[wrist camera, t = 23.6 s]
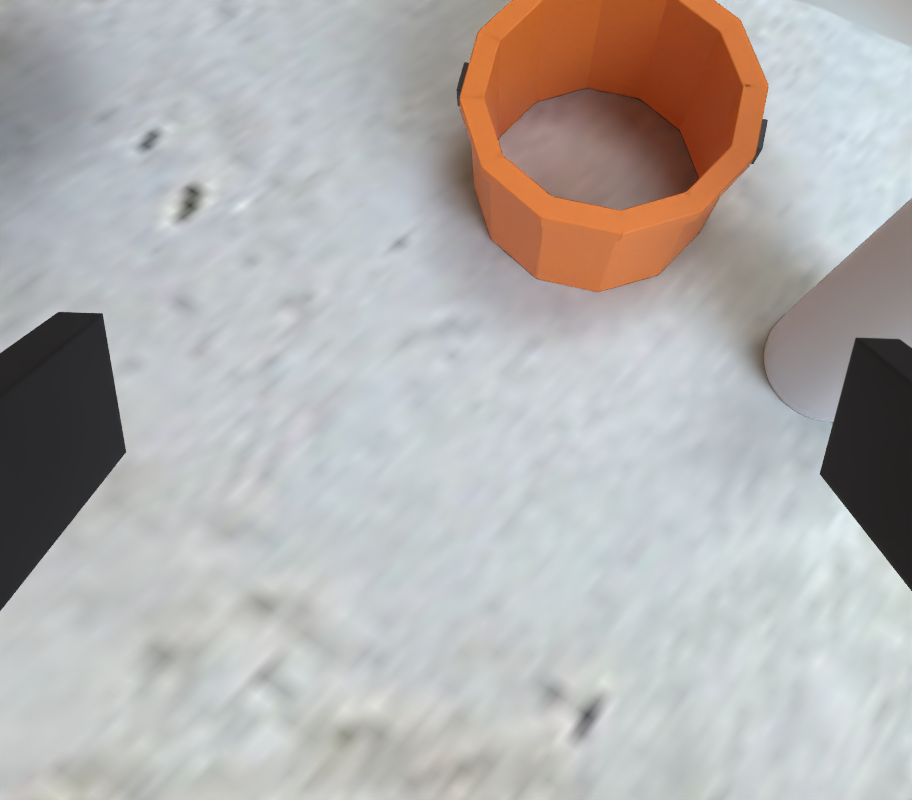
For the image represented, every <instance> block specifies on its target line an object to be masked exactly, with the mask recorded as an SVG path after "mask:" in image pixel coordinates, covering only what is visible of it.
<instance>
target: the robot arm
mask: <svg viewBox="0 0 912 800" xmlns="http://www.w3.org/2000/svg"><path fill="white" fill-rule="evenodd" d="M125 453H126V449H125V443H124V437H123V431H122V425H121V420H120V414H119V408H118V402H117V396H116V390H115V384H114V378H113V372H112V367H111V361H110V355H109V349H108V343H107V337H106V331H105V325H104V319H103V313H71V312H58V313H56V314H55V315H54V316H52V317H51V318H49V319H48V320H47V321H45V322H44V323H42V324H41V325H40V326H38V327H37V328H35V329H34V330H32V331H31V332H30V333H28V334H27V335H25V336H24V337H23V338H21V339H20V340H18V341H17V342H16V343H14V344H13V345H11V346H10V347H9V348H7V349H6V350H4V351H3V352H1V353H0V611H1V609H2V608H3V607H4V606H5V604H6V603H7V602H8V601H9V599H10V598H11V597H12V596H13V594H14V593H15V592H16V590H17V589H18V588H19V587H20V585H21V584H22V583H23V582H24V580H25V579H26V578H27V577H28V575H29V574H30V573H31V572H32V570H33V569H34V568H35V566H36V565H37V564H38V563H39V561H40V560H41V559H42V558H43V556H44V555H45V554H46V553H47V551H48V550H49V549H50V548H51V546H52V545H53V544H54V542H55V541H56V540H57V539H58V537H59V536H60V535H61V534H62V532H63V531H64V530H65V529H66V527H67V526H68V525H69V524H70V522H71V521H72V520H73V518H74V517H75V516H76V515H77V513H78V512H79V511H80V510H81V508H82V507H83V506H84V505H85V503H86V502H87V501H88V500H89V498H90V497H91V496H92V494H93V493H94V492H95V491H96V489H97V488H98V487H99V486H100V484H101V483H102V482H103V481H104V479H105V478H106V477H107V476H108V474H109V473H110V472H111V470H112V469H113V468H114V467H115V465H116V464H117V463H118V462H119V460H120V459H121V458H122V457H123V455H124V454H125ZM820 475H821V476H822V477H823V479H824V480H825V481H826V482H827V484H828V485H829V486H830V488H831V489H832V490H833V491H834V493H835V494H836V495H837V496H838V498H839V499H840V500H841V502H842V503H843V504H844V505H845V507H846V508H847V509H848V510H849V512H850V513H851V514H852V516H853V517H854V518H855V519H856V521H857V522H858V523H859V524H860V526H861V527H862V528H863V530H864V531H865V532H866V533H867V535H868V536H869V537H870V538H871V540H872V541H873V542H874V544H875V545H876V546H877V547H878V549H879V550H880V551H881V552H882V554H883V555H884V556H885V558H886V559H887V560H888V561H889V563H890V564H891V565H892V566H893V568H894V569H895V570H896V572H897V573H898V574H899V575H900V577H901V578H902V579H903V580H904V582H905V583H906V584H907V586H908V587H909V588H910V589H911V591H912V348H911V347H910V346H908V345H907V344H906V343H904V342H903V341H902V340H900V339H886V338H855V342H854V345H853V349H852V353H851V357H850V361H849V364H848V368H847V372H846V376H845V380H844V384H843V387H842V391H841V395H840V399H839V403H838V406H837V410H836V414H835V418H834V422H833V426H832V429H831V433H830V437H829V441H828V445H827V448H826V452H825V456H824V460H823V464H822V467H821V471H820Z"/></svg>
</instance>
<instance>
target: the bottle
mask: <svg viewBox="0 0 912 800" xmlns="http://www.w3.org/2000/svg"><path fill="white" fill-rule="evenodd" d="M855 338H886V339H900V340H902V341H903V342H904V343H906V344H907V345H908V346H910V347H911V348H912V198H911V199H910V200H909V201H908V202H907V203H906V204H905V205H904V206H903V207H902V208H900V209H899V210H898V211H897V212H896V213H895V214H894V215H893V216H892V217H891V218H889V219H888V220H887V221H886V222H885V223H884V224H883V225H882V226H881V227H880V228H878V229H877V230H876V231H875V232H874V233H873V234H872V235H871V236H870V237H869V238H867V239H866V240H865V241H864V242H863V243H862V244H861V245H860V246H859V247H858V248H856V249H855V250H854V251H853V252H852V253H851V254H850V255H849V256H848V257H847V258H845V259H844V260H843V261H842V262H841V263H840V264H839V265H838V266H837V267H836V268H834V269H833V270H832V271H831V272H830V273H829V274H828V275H827V276H826V277H825V278H823V279H822V280H821V281H820V282H819V283H818V284H817V285H816V286H815V287H814V288H812V289H811V290H810V291H809V292H808V293H807V294H806V295H805V296H804V297H803V298H802V299H801V300H800V301H799V302H798V303H797V304H796V305H794V306H793V307H792V308H791V309H790V310H789V311H788V312H787V313H786V314H785V315H784V316H783V317H782V318H781V319H780V320H779V321H778V322H777V323H776V325H775V326H774V327H773V328H772V329H771V331H770V334H769V336H768V339H767V341H766V344H765V349H764V366H765V371H766V374H767V377H768V380H769V382H770V384H771V386H772V388H773V390H774V391H775V392H776V394H777V395H778V397H779V398H780V399H781V400H782V401H783V402H784V403H785V404H786V405H788V406H789V407H790V408H791V409H793V410H794V411H796V412H798V413H799V414H801V415H804V416H806V417H809V418H811V419H814V420H818V421H827V422H834V418H835V414H836V410H837V406H838V403H839V399H840V395H841V391H842V387H843V384H844V380H845V376H846V372H847V368H848V364H849V361H850V357H851V353H852V349H853V345H854V342H855Z"/></svg>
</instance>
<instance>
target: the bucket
mask: <svg viewBox="0 0 912 800" xmlns="http://www.w3.org/2000/svg"><path fill="white" fill-rule="evenodd" d="M585 88H588V89H593V90H599V91H604V92H609V93H614V94H620V95H625V96H630V97H635V98H640V99H641V100H642V101H644V102H645V103H646V104H647V105H649V106H650V107H651V108H652V109H654V110H655V111H656V112H658V113H659V114H660V115H661V116H663V117H664V118H665V119H666V120H668V121H669V122H670V123H671V124H673V125H674V126H675V127H677V128H678V129H679V130H680V131H681V134H682V136H683V139H684V141H685V144H686V146H687V149H688V151H689V154H690V157H691V159H692V162H693V164H694V167H695V169H696V172H697V174H698V180H697V181H696V182H695V183H694V184H693V185H692V186H691V187H690V188H689V190H688V191H687V192H684V193H680V194H677V195H673V196H670V197H666V198H663V199H659V200H656V201H652V202H649V203H645V204H642V205H638V206H635V207H631V208H628V209H624V210H616V209H611V208H606V207H601V206H596V205H591V204H586V203H582V202H577V201H572V200H567V199H562V198H557V197H552V196H551V195H550V194H548V193H547V192H546V191H545V190H544V189H543V188H541V187H540V186H539V185H538V184H537V183H535V182H534V181H533V180H532V179H531V178H529V177H528V176H527V175H526V174H525V173H524V172H522V171H521V170H520V169H519V168H518V167H516V166H515V165H514V164H513V163H512V162H510V161H509V160H508V159H507V158H506V157H505V156H503V154H502V151H501V148H500V145H499V142H498V140H499V137H500V136H501V135H502V134H503V133H504V132H505V131H506V130H507V129H508V128H509V127H510V126H512V125H513V124H514V123H515V122H516V121H517V120H518V119H519V118H520V117H521V116H522V115H523V114H524V113H525V112H526V111H527V110H528V109H529V108H530V107H531V106H532V105H533V104H534V103H535V102H538V101H542V100H545V99H549V98H553V97H556V96H560V95H563V94H567V93H570V92H574V91H577V90H581V89H585ZM767 92H768V83H767V80H766V78H765V76H764V73H763V71H762V69H761V66H760V64H759V62H758V59H757V57H756V55H755V52H754V50H753V48H752V45H751V43H750V41H749V38H748V36H747V34H746V31H745V29H744V27H743V24H742V22H741V20H739V18H738V17H736V16H735V15H733V14H732V13H731V12H729V11H728V10H727V9H725V8H724V7H723V6H721V5H720V4H719V3H717V2H716V1H714V0H512V1H511V2H509V3H508V4H507V5H506V6H505V7H504V8H503V9H502V10H501V11H500V12H499V13H498V14H497V15H495V16H494V17H493V18H492V19H491V20H490V21H489V22H488V23H487V24H486V25H485V26H484V27H483V28H482V29H480V30H479V32H478V34H477V37H476V40H475V44H474V48H473V51H472V55H471V58H470V62H469V63H466V62H465V63H464V65H463V69H462V72H461V76H460V79H459V83H458V86H457V101H458V106H459V107H460V111H461V114H462V117H463V120H464V124H465V127H466V130H467V133H468V136H469V139H470V142H471V145H472V157H473V174H474V187H475V190H476V193H477V197H478V200H479V203H480V206H481V209H482V212H483V216H484V219H485V222H486V225H487V228H488V231H489V234H490V238H491V239H492V240H493V241H494V242H495V243H496V244H497V245H498V246H500V247H501V248H502V249H503V250H504V251H505V252H506V253H508V254H509V255H510V256H511V257H512V258H513V259H514V260H516V261H517V262H518V263H519V264H520V265H521V266H522V267H524V268H525V269H526V270H527V271H528V272H529V273H530V274H532V275H533V276H534V277H535V278H537V279H539V280H544V281H549V282H553V283H558V284H562V285H567V286H572V287H576V288H581V289H585V290H590V291H595V292H601V291H604V290H608V289H611V288H615V287H618V286H622V285H625V284H629V283H632V282H636V281H639V280H643V279H646V278H650V277H653V276H657V275H658V274H660V273H661V272H662V271H663V270H664V269H665V268H666V267H667V266H668V265H669V264H670V263H671V262H672V261H673V260H674V259H675V258H676V256H677V255H678V254H679V253H680V252H681V251H682V250H683V249H684V248H685V247H686V246H687V245H688V244H689V243H690V242H691V241H692V240H693V239H694V238H695V237H696V236H697V235H698V234H699V233H700V231H701V229H702V227H703V226H704V224H705V222H706V221H707V219H708V217H709V215H710V214H711V212H712V210H713V208H714V207H715V205H716V203H717V201H718V200H719V198H720V196H721V195H722V194H723V193H724V192H725V191H726V190H727V189H728V188H729V187H730V186H731V185H732V184H733V183H734V182H735V181H736V180H737V179H738V177H739V176H740V175H741V174H742V173H743V172H744V171H745V170H746V169H747V168H748V167H749V166H750V164H753V163H754V162H755V160H756V158H757V157H758V155H759V153H760V152H761V150H762V148H763V142H764V137H765V132H766V127H767V120H766V119H763V113H764V108H765V103H766V98H767Z"/></svg>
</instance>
